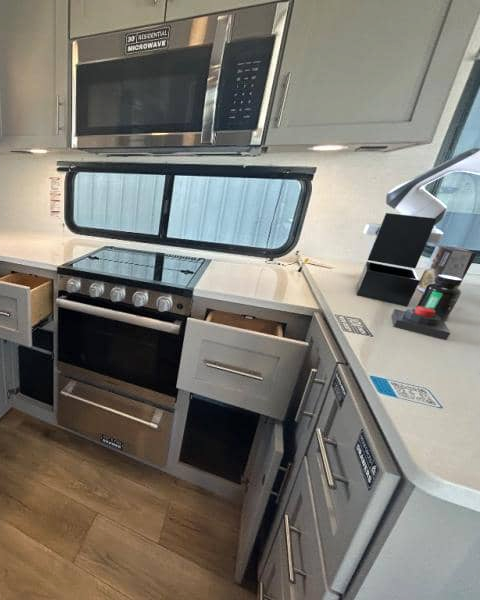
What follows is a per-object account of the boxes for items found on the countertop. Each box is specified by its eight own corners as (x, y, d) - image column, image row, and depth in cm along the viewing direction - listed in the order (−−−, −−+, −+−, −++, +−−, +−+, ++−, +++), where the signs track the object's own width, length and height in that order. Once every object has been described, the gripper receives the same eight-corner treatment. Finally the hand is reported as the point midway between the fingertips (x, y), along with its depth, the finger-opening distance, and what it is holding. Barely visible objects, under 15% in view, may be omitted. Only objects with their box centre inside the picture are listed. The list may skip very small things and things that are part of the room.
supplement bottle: (427, 320, 93) (448, 280, 88) (407, 310, 99) (426, 272, 95) (453, 322, 92) (475, 282, 88) (432, 312, 99) (452, 274, 94)
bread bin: (407, 307, 102) (420, 280, 98) (356, 295, 109) (366, 270, 105) (402, 294, 113) (414, 269, 109) (357, 284, 120) (366, 261, 117)
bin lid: (437, 218, 105) (436, 218, 105) (386, 212, 112) (385, 213, 112) (415, 268, 109) (414, 268, 110) (367, 260, 116) (367, 260, 117)
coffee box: (453, 299, 110) (478, 253, 104) (429, 296, 112) (452, 250, 106) (437, 291, 118) (459, 247, 112) (414, 287, 120) (436, 244, 114)
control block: (439, 327, 89) (446, 314, 87) (446, 340, 82) (454, 326, 80) (391, 315, 94) (397, 303, 93) (393, 327, 87) (400, 313, 86)
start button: (431, 315, 87) (434, 309, 86) (433, 319, 84) (436, 313, 84) (413, 310, 89) (416, 305, 88) (414, 314, 86) (417, 308, 86)
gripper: (366, 218, 125) (367, 221, 115) (441, 226, 114) (449, 231, 104) (360, 234, 128) (360, 239, 118) (433, 244, 116) (439, 250, 106)
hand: (402, 235), depth 111 cm, fingers closed
